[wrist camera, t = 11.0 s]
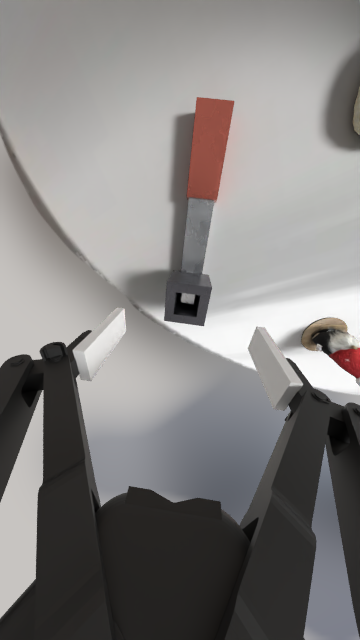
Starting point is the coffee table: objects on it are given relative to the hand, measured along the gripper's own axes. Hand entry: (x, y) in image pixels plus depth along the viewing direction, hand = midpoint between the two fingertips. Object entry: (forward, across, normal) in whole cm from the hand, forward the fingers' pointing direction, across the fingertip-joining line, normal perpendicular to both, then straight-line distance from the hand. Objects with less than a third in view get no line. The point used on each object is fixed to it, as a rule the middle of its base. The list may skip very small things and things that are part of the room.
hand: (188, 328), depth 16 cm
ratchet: (+17, 0, +9) cm, 19 cm away
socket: (+14, 0, -1) cm, 14 cm away
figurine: (+17, +29, -7) cm, 34 cm away
